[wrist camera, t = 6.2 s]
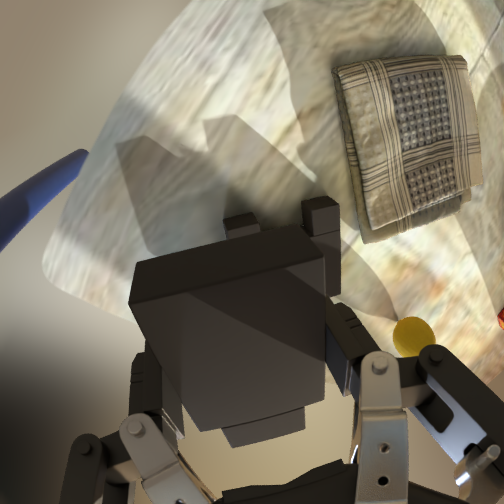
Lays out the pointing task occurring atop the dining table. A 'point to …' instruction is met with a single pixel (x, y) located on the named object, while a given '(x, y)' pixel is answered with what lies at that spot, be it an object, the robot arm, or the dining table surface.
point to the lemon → (412, 336)
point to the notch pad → (315, 226)
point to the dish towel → (408, 140)
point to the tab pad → (239, 330)
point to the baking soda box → (501, 319)
